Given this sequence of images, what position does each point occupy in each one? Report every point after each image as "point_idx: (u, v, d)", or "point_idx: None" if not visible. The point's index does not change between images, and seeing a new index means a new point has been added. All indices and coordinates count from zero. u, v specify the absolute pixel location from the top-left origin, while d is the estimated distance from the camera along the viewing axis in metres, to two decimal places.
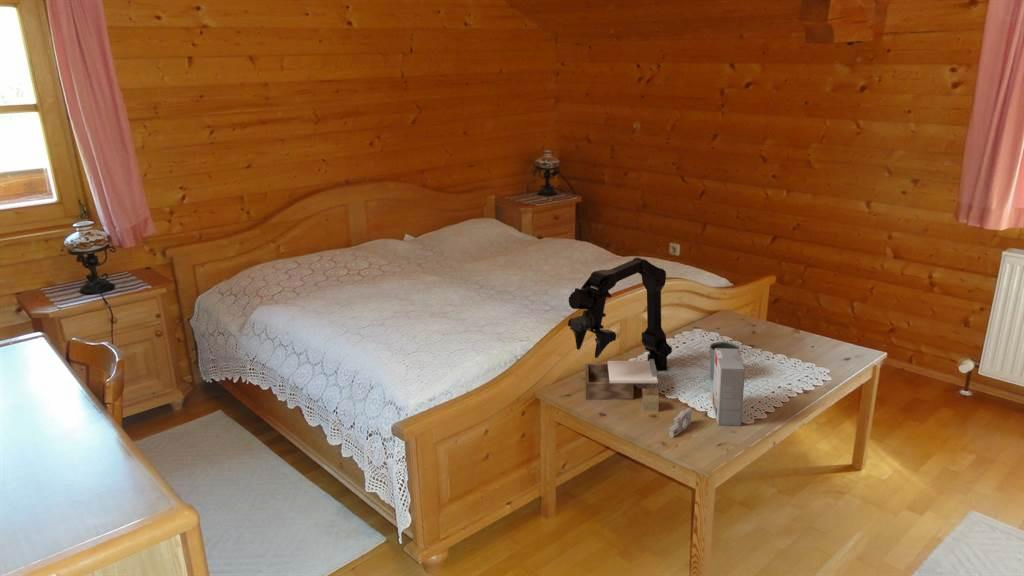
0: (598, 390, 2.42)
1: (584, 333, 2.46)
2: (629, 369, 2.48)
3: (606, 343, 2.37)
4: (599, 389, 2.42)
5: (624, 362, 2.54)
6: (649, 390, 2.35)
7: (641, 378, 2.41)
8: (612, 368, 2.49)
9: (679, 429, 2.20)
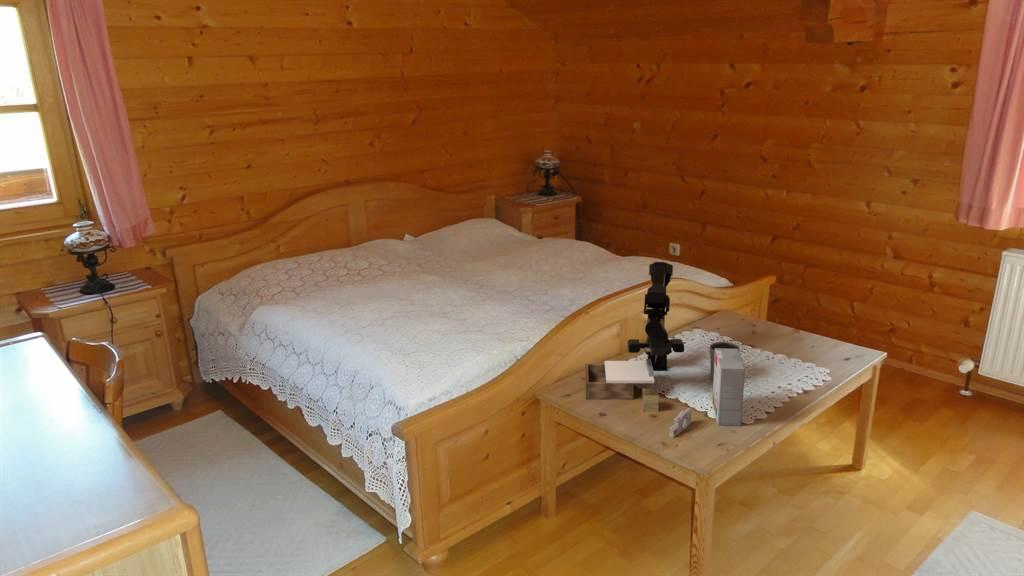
0: (598, 390, 2.42)
1: None
2: (625, 369, 2.48)
3: None
4: (599, 389, 2.42)
5: (621, 362, 2.54)
6: (649, 390, 2.35)
7: (638, 378, 2.41)
8: (609, 368, 2.49)
9: (679, 429, 2.20)
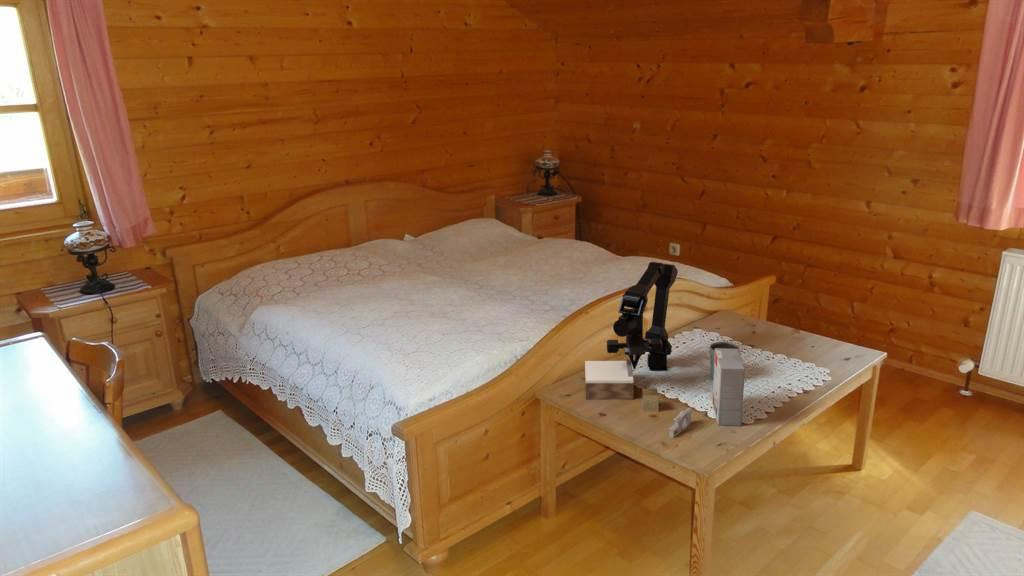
0: (598, 390, 2.42)
1: None
2: (605, 369, 2.49)
3: None
4: (599, 389, 2.42)
5: (601, 362, 2.54)
6: (649, 390, 2.35)
7: (617, 378, 2.41)
8: (589, 368, 2.50)
9: (679, 429, 2.20)
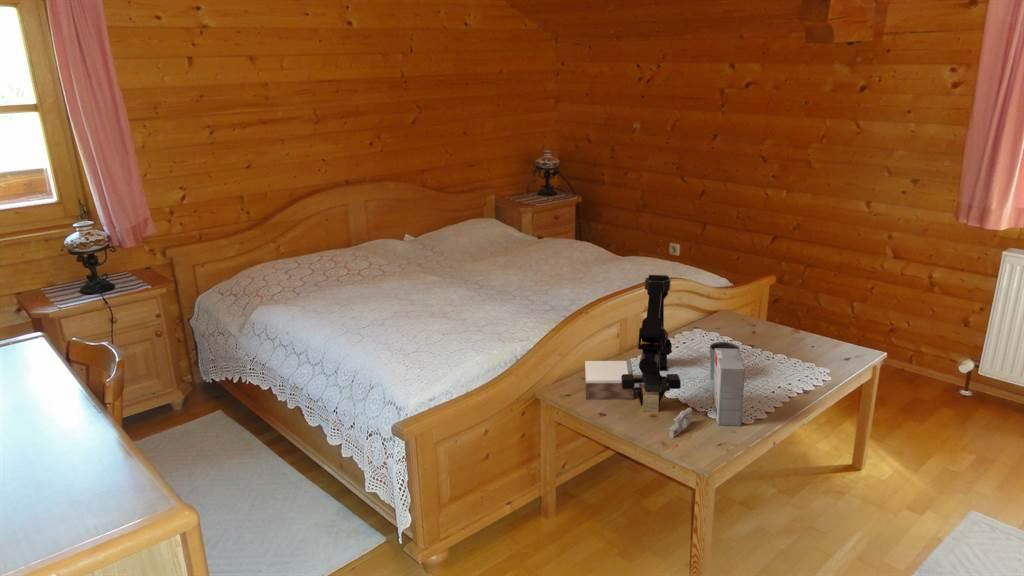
0: (598, 390, 2.42)
1: None
2: (605, 369, 2.49)
3: None
4: (599, 389, 2.42)
5: (601, 362, 2.54)
6: None
7: (617, 378, 2.41)
8: (589, 368, 2.50)
9: (679, 429, 2.20)
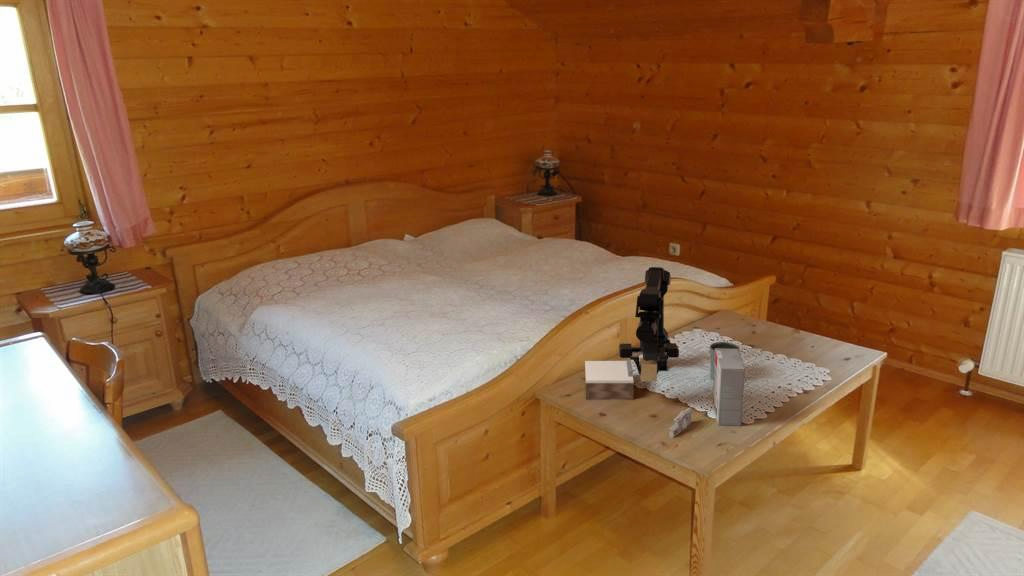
0: (598, 390, 2.42)
1: None
2: (605, 369, 2.49)
3: None
4: (599, 389, 2.42)
5: (601, 362, 2.54)
6: None
7: (617, 378, 2.41)
8: (589, 368, 2.50)
9: (679, 429, 2.20)
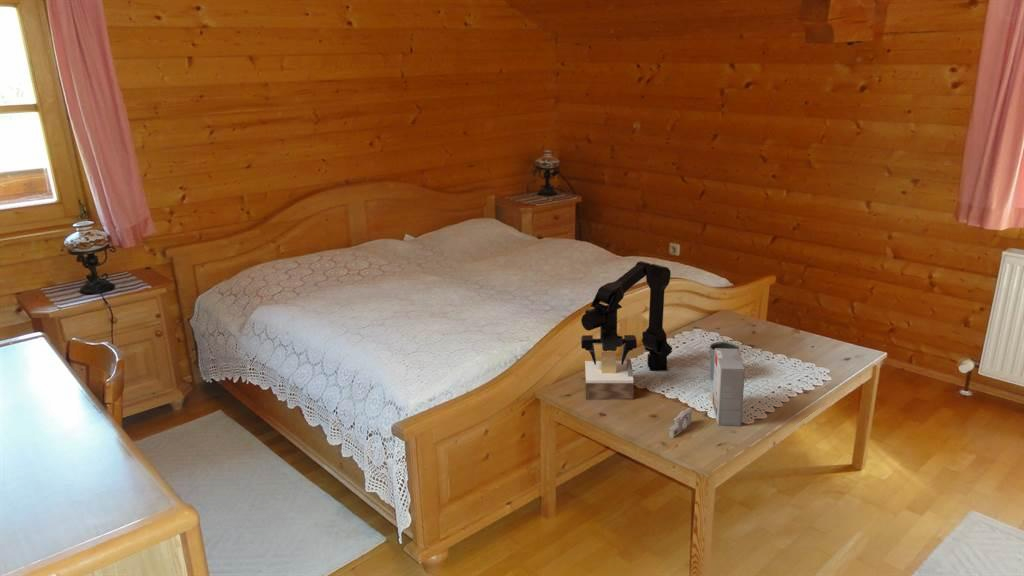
0: (598, 390, 2.42)
1: None
2: None
3: None
4: (599, 389, 2.42)
5: None
6: (608, 353, 2.47)
7: (617, 378, 2.41)
8: (589, 368, 2.50)
9: (679, 429, 2.20)
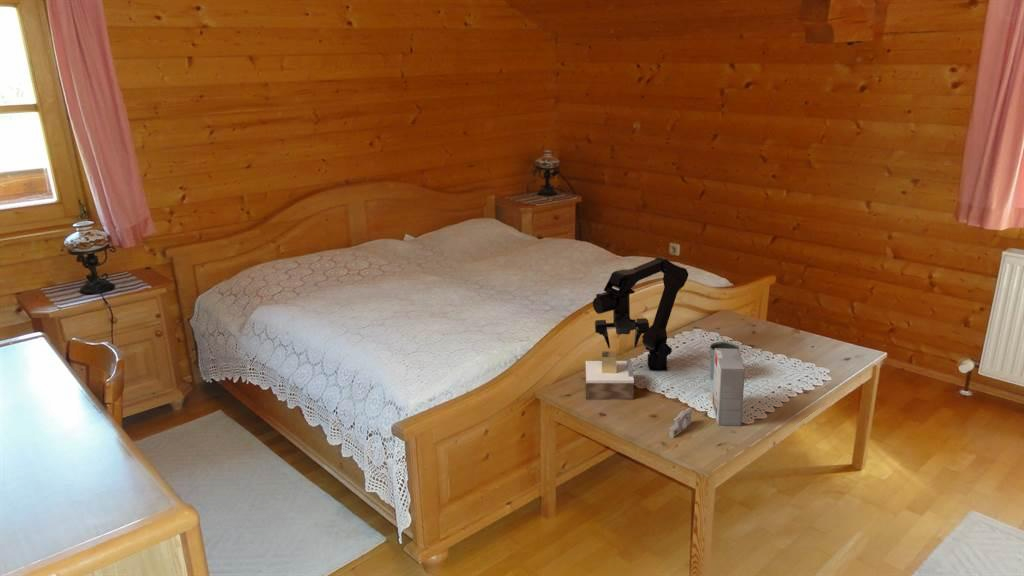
0: (598, 390, 2.42)
1: None
2: None
3: None
4: (599, 389, 2.42)
5: None
6: (608, 353, 2.47)
7: (618, 378, 2.41)
8: (590, 368, 2.50)
9: (679, 429, 2.20)
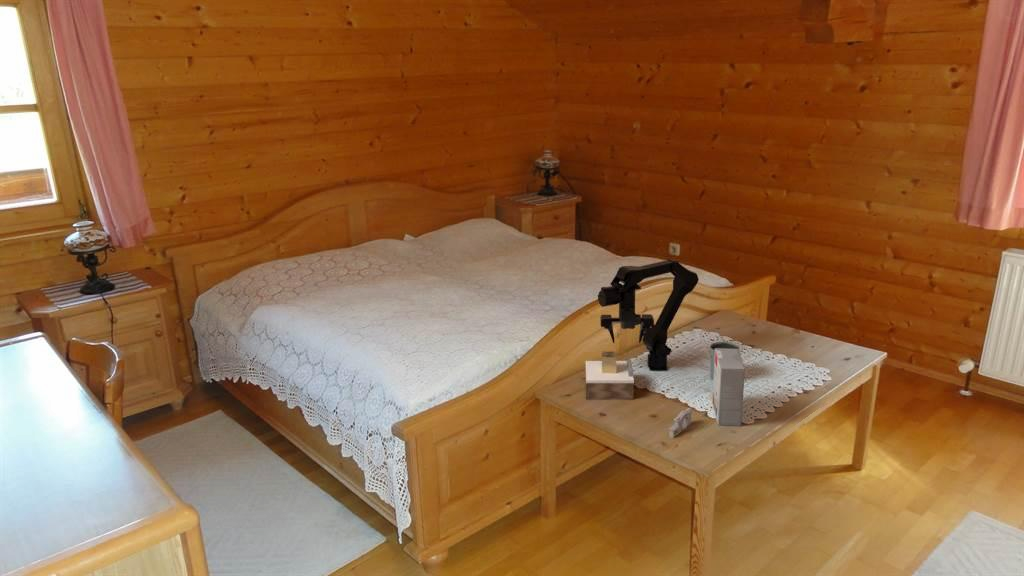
0: (598, 390, 2.42)
1: None
2: None
3: None
4: (599, 389, 2.42)
5: None
6: (608, 353, 2.47)
7: (618, 378, 2.41)
8: (590, 368, 2.50)
9: (679, 429, 2.20)
